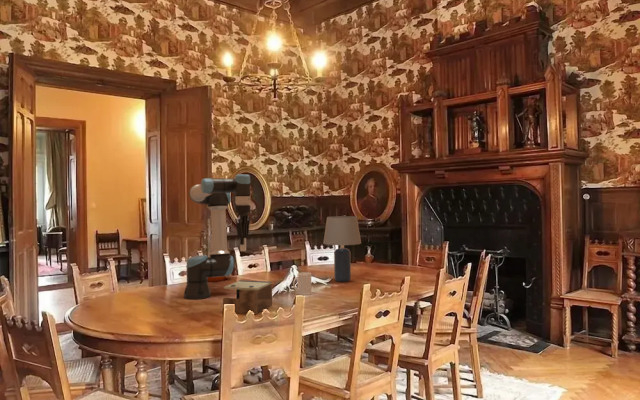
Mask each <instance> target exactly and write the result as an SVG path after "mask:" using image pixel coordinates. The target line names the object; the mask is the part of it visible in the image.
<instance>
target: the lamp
mask: <svg viewBox="0 0 640 400" xmlns="http://www.w3.org/2000/svg"><path fill="white" fill-rule="evenodd" d="M358 221H359V219H358V216H349V215H348V216H347V215H346V216H345V215H341V216H337V215H336V216H327V217H326V223H325V230H324V237H323V245H327V246H340V247H339V248H336V249H335V250H334V253H333V254H334V255H333V259H334V263H333V265H334V267H333V269H334V280H335V281H336V282H337V283H348V282H350V281H351V275H352V274H351V273H352V271H351V270H352V269H351V268H352V266H351V265H352V263H351V254H352V253H351V251H350V249H349V248H346V247H345V246H356V245H361V244H362V240H361V233H360V228H359V222H358Z"/></svg>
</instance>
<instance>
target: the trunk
mask: <svg viewBox="0 0 640 400" xmlns="http://www.w3.org/2000/svg"><path fill="white" fill-rule="evenodd" d="M224 304H235V312H236V313H235V314H244V315H247V314H246V313H247V312H248V311H249V310H251V311H253V312H254V313H255V314H256V315H259V314H260V313H262V312H263V311H262V310H263V309H266V310H267V309H269V308H271V307H272V306H273V284H272V283H271V284H270V285H268V286H266V287H264V288H261V289H259V290H239V299H237V298H236V297H235V298H234V297H232V298H231V297H222V306H223V305H224ZM255 314H254V315H255ZM256 315H255V316H256Z"/></svg>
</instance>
